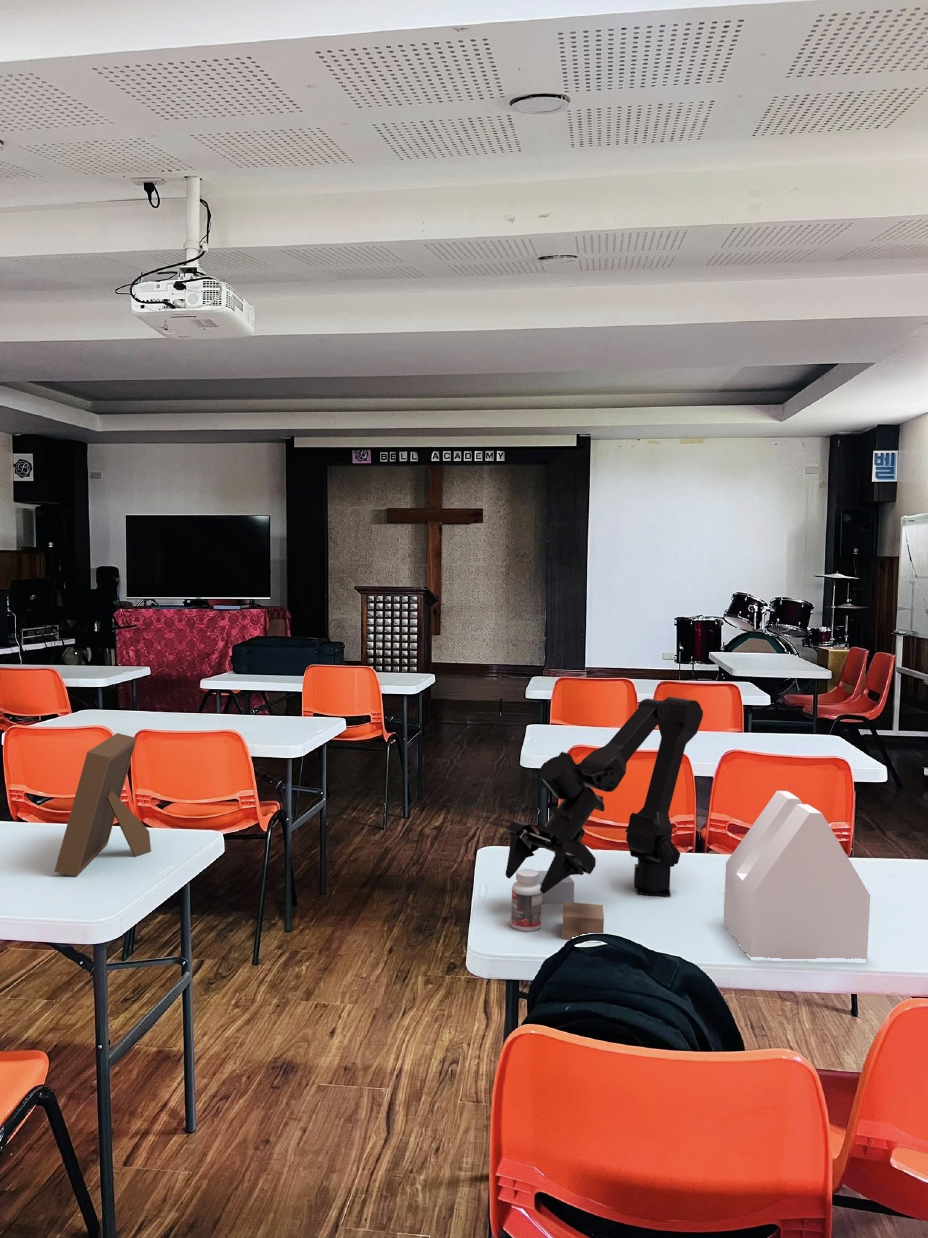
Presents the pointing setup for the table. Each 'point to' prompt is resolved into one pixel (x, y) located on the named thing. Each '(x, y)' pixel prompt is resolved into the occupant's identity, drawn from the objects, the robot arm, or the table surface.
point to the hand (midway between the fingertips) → (524, 884)
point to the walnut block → (581, 919)
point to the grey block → (558, 890)
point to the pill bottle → (526, 901)
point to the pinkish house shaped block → (795, 888)
